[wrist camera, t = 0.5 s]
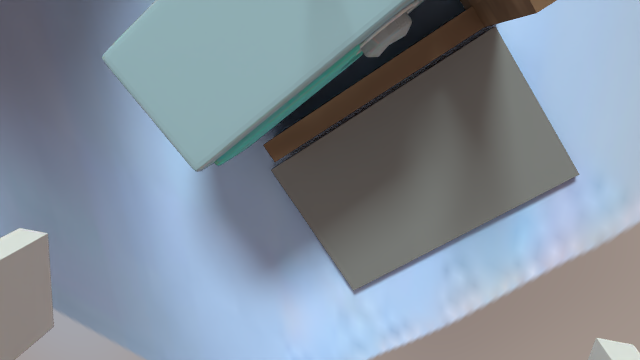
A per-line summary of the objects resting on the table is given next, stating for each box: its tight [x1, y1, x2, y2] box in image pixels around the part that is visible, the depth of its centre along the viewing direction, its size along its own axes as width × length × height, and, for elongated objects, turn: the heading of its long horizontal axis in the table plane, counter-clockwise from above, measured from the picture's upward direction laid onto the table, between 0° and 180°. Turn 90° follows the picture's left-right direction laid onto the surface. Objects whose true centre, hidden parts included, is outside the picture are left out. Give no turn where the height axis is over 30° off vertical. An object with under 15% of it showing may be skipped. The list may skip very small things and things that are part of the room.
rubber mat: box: [271, 27, 579, 291], centre depth 34 cm, size 12×19×1 cm, turn 123°
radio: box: [102, 0, 424, 172], centre depth 24 cm, size 16×9×20 cm, turn 128°
